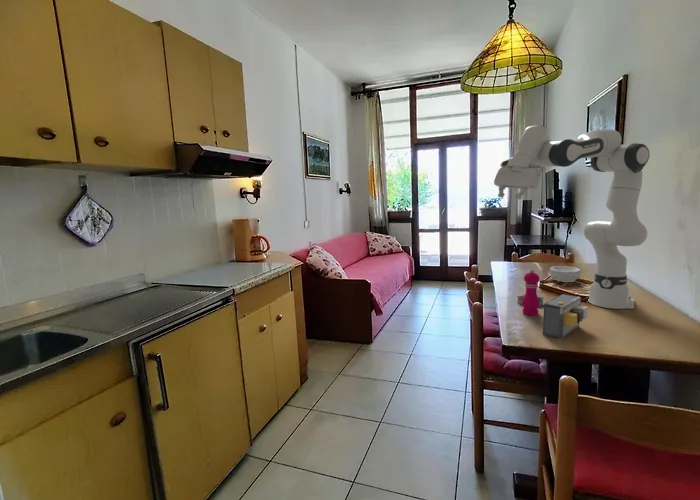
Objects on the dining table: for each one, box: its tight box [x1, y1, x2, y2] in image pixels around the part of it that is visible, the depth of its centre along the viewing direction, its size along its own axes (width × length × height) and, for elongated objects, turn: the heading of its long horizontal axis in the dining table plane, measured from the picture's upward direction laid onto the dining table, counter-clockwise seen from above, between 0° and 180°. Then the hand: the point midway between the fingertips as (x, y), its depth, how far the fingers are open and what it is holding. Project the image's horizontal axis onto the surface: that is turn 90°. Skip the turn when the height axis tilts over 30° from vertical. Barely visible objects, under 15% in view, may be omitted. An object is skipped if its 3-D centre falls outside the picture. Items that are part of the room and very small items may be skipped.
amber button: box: [564, 312, 577, 327], centre depth 131 cm, size 4×4×4 cm
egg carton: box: [516, 294, 545, 307], centre depth 172 cm, size 11×8×4 cm
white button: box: [575, 305, 589, 320], centre depth 138 cm, size 4×4×4 cm
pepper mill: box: [521, 268, 540, 317], centre depth 157 cm, size 7×7×20 cm
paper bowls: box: [549, 265, 581, 283], centre depth 210 cm, size 15×15×8 cm
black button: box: [570, 308, 583, 324], centre depth 134 cm, size 4×4×4 cm
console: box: [542, 293, 582, 340], centre depth 137 cm, size 18×6×13 cm, turn 130°
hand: (508, 197), depth 145 cm, fingers open, 8 cm apart
